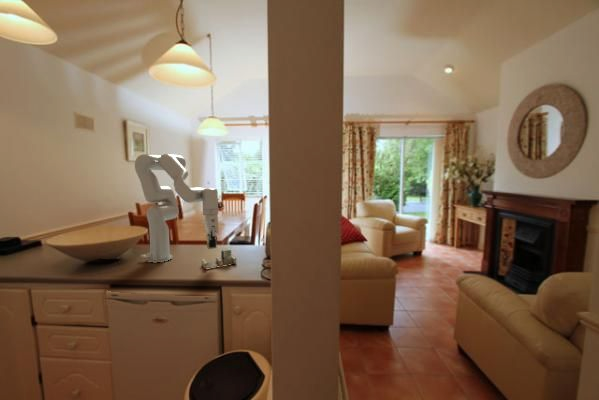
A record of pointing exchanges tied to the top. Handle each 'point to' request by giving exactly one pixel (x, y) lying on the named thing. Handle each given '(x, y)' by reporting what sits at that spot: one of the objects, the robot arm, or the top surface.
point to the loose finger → (208, 242)
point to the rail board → (221, 259)
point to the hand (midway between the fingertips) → (211, 245)
